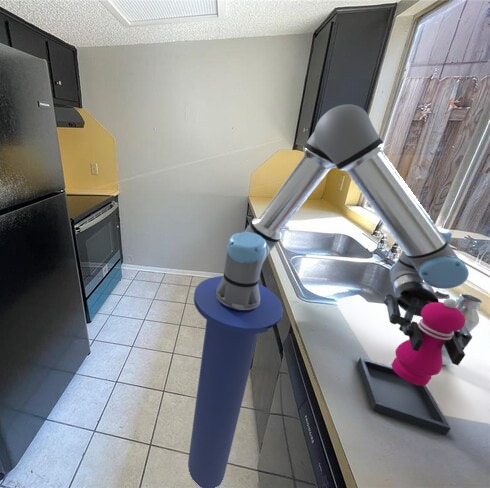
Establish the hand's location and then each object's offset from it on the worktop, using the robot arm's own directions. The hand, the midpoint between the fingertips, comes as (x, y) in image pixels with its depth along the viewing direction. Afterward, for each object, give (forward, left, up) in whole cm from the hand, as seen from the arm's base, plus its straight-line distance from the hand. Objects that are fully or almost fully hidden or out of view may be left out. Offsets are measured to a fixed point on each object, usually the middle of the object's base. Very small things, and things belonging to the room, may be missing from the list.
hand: (437, 352), depth 49 cm
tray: (-5, +1, -18) cm, 19 cm away
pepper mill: (-5, +1, -11) cm, 12 cm away
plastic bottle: (-23, +15, -18) cm, 33 cm away
